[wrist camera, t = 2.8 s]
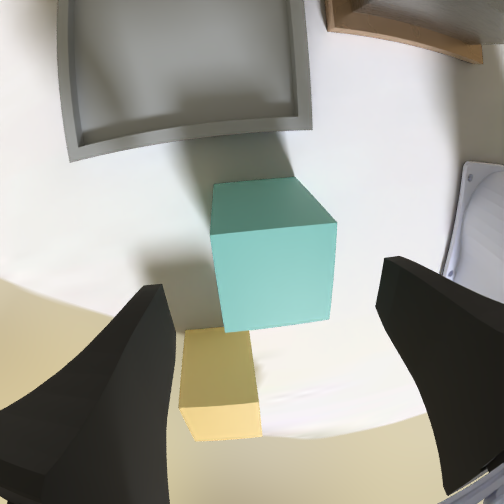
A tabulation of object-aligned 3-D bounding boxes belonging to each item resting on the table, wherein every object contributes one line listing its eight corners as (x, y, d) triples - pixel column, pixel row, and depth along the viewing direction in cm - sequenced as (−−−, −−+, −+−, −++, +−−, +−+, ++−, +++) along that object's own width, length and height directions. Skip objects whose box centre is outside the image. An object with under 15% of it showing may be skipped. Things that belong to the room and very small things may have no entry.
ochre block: (252, 364, 21) (262, 436, 15) (197, 369, 20) (195, 441, 15) (248, 323, 19) (258, 402, 13) (185, 329, 19) (178, 407, 13)
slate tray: (303, 127, 13) (312, 129, 12) (82, 156, 13) (69, 162, 12) (286, -62, 8) (292, -75, 7) (73, -29, 8) (61, -37, 6)
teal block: (295, 248, 17) (329, 319, 11) (222, 256, 16) (225, 332, 11) (294, 176, 15) (337, 222, 9) (213, 184, 14) (209, 235, 9)
